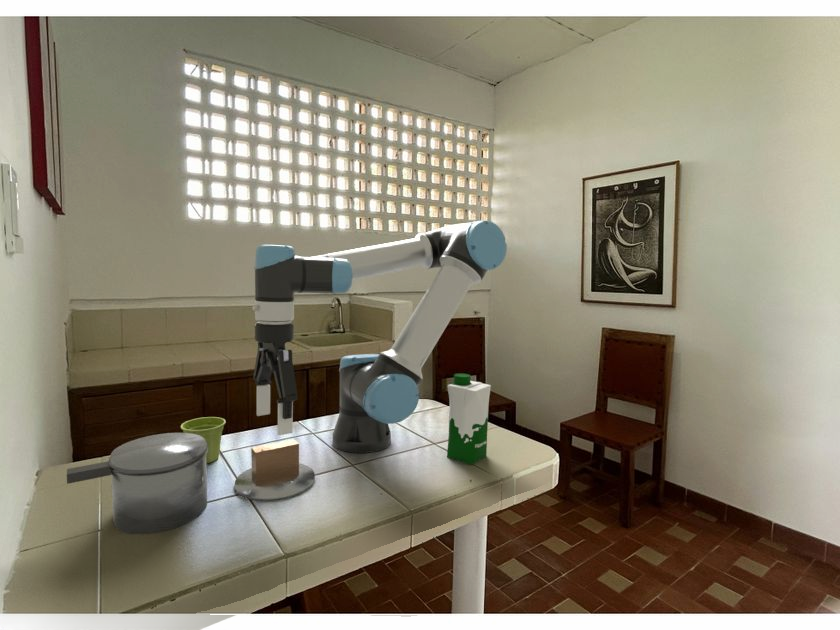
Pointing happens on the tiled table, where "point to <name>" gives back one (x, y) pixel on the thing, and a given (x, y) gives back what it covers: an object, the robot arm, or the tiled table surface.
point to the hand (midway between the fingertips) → (273, 423)
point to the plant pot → (207, 433)
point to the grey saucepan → (154, 481)
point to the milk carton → (468, 419)
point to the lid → (275, 473)
